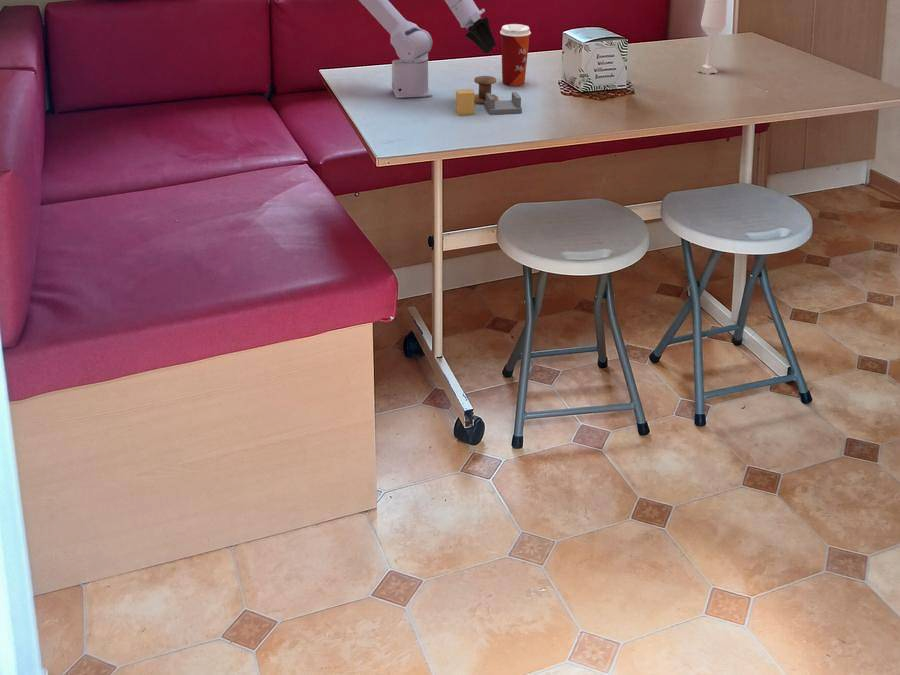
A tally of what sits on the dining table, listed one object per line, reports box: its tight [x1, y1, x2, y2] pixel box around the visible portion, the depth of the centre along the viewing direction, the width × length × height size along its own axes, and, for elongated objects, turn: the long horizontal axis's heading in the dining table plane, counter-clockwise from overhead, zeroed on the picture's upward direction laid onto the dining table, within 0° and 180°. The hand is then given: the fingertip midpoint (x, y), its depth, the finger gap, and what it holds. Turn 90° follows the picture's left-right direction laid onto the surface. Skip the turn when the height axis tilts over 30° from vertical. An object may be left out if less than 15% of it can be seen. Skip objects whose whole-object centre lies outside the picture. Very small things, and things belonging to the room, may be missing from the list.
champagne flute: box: [700, 0, 728, 68], centre depth 288 cm, size 7×7×24 cm
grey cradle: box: [484, 91, 523, 116], centre depth 261 cm, size 8×7×4 cm
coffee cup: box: [499, 23, 532, 87], centre depth 278 cm, size 8×8×15 cm
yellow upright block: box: [455, 88, 475, 116], centre depth 258 cm, size 4×3×6 cm
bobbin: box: [473, 75, 499, 106], centre depth 267 cm, size 7×7×6 cm
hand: (491, 49), depth 259 cm, fingers open, 7 cm apart
